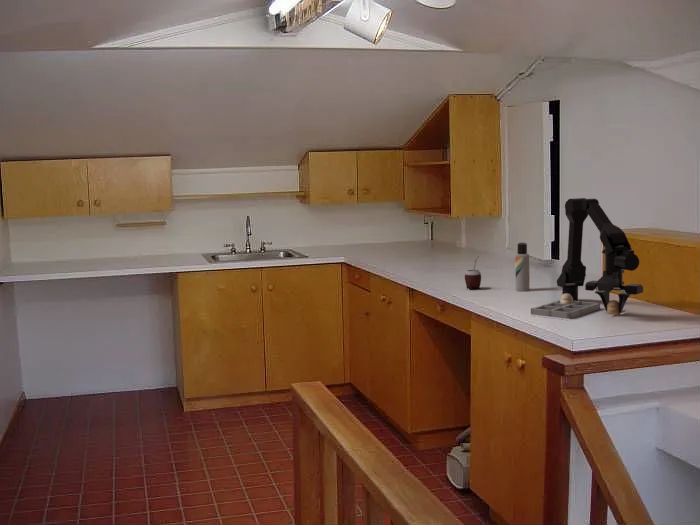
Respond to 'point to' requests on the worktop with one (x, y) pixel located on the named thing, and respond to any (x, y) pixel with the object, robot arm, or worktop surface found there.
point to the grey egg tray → (565, 309)
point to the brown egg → (613, 308)
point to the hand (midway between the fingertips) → (613, 311)
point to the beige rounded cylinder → (566, 299)
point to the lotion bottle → (522, 268)
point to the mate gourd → (473, 278)
